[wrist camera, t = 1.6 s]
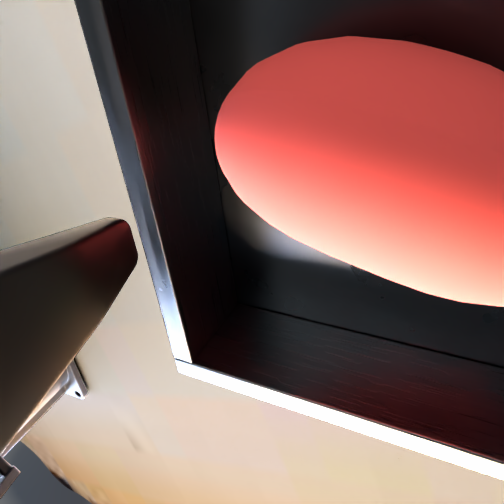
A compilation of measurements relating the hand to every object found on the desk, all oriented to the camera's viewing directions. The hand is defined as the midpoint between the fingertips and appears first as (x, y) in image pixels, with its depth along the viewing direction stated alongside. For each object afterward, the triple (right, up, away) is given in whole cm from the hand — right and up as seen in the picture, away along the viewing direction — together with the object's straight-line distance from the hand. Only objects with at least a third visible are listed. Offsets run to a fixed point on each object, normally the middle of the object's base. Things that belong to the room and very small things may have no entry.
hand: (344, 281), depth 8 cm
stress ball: (+3, +4, +5) cm, 7 cm away
